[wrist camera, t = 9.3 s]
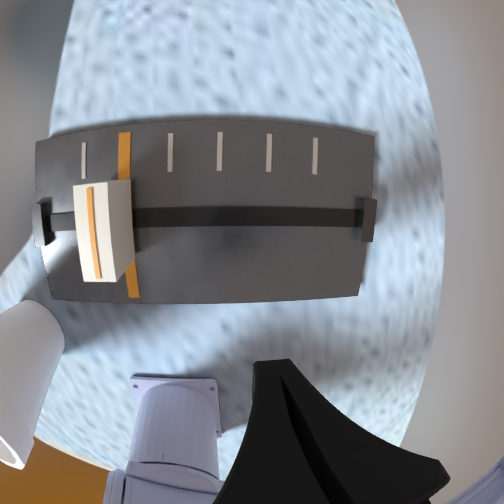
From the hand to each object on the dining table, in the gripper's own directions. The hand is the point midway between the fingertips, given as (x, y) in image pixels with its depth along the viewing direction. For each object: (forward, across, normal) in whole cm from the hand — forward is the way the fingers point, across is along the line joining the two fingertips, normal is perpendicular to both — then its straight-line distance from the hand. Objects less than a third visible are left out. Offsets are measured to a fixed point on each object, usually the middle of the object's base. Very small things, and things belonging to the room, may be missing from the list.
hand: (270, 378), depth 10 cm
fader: (+9, +8, -4) cm, 13 cm away
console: (+10, +3, -4) cm, 12 cm away
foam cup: (+10, +19, +6) cm, 23 cm away
